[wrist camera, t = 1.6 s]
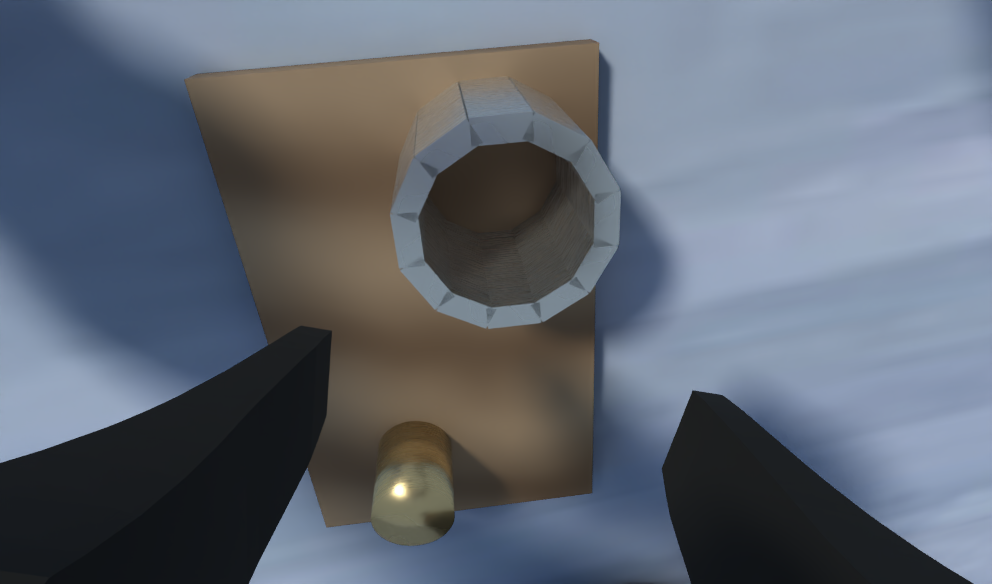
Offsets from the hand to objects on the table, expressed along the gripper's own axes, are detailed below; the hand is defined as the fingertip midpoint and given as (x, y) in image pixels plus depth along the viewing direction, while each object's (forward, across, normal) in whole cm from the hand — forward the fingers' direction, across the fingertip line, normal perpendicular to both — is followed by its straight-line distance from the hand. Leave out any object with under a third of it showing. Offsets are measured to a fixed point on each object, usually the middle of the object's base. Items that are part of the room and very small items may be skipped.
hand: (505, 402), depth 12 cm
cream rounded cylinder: (+10, +2, +10) cm, 14 cm away
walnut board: (+10, +2, +4) cm, 11 cm away
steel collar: (+9, +1, -2) cm, 9 cm away
